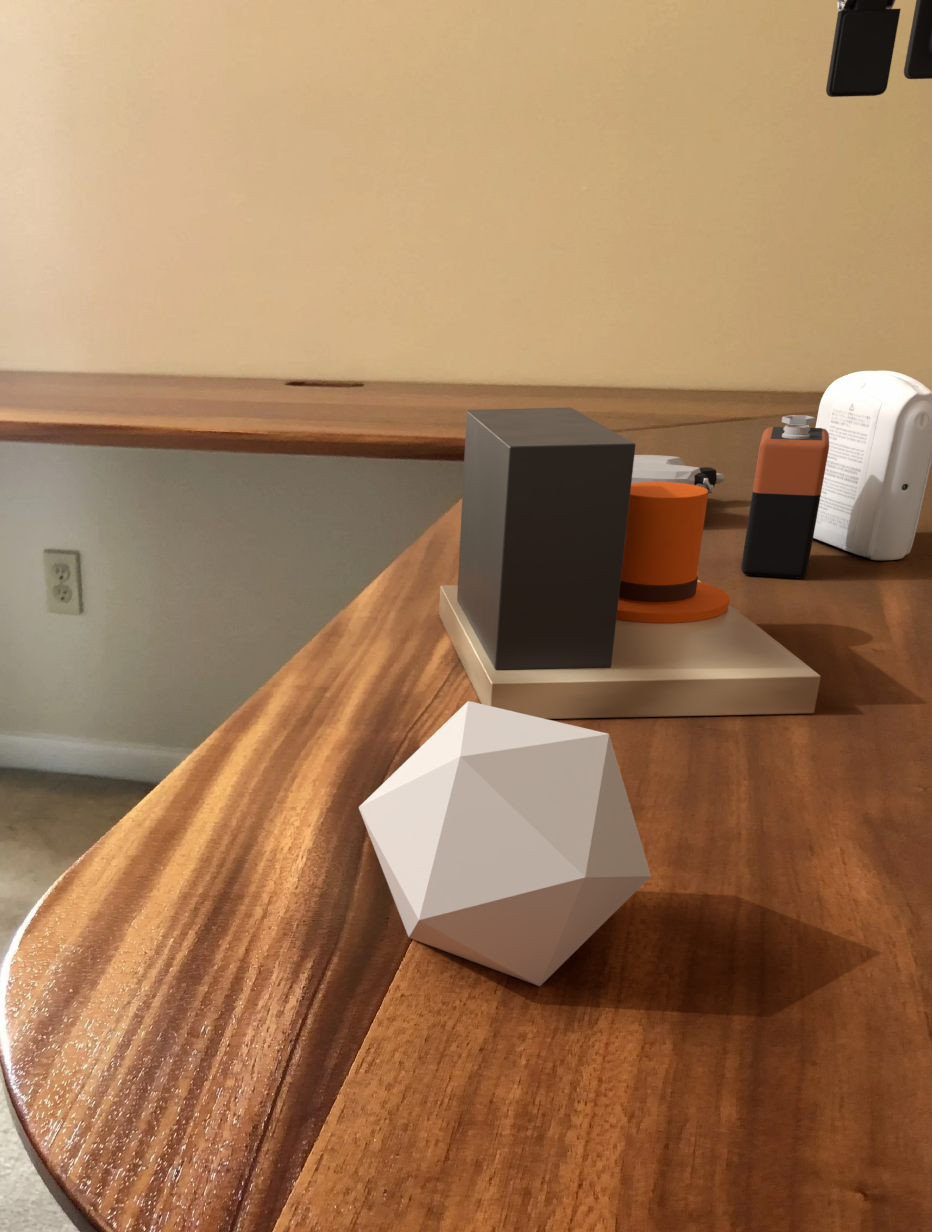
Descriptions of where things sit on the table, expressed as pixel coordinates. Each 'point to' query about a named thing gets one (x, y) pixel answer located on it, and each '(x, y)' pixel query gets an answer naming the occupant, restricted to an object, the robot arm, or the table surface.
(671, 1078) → the table surface
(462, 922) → the die
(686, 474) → the robot toy
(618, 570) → the tall dark grey box
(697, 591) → the hat
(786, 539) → the battery
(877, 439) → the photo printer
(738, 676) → the wooden board
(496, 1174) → the table surface
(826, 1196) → the table surface
